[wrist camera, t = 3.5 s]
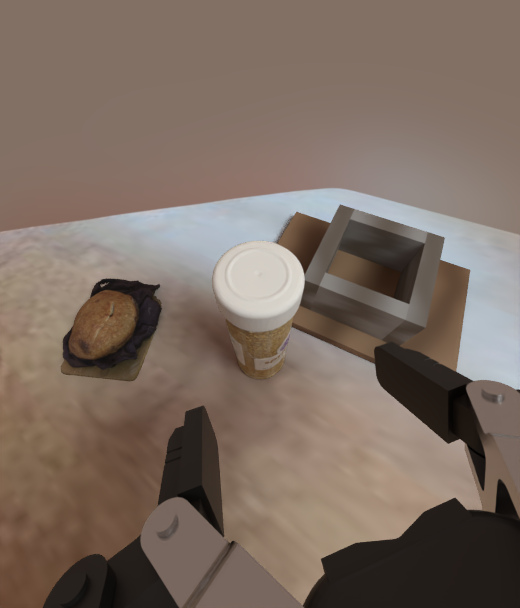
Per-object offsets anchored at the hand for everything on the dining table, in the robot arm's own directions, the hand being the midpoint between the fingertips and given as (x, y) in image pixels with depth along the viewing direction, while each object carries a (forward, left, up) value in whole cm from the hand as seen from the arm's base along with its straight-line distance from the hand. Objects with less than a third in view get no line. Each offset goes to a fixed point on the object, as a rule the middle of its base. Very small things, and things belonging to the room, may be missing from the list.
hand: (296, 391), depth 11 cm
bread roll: (-18, 0, -12) cm, 22 cm away
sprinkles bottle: (-4, +4, -12) cm, 13 cm away
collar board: (+2, +15, -12) cm, 19 cm away
